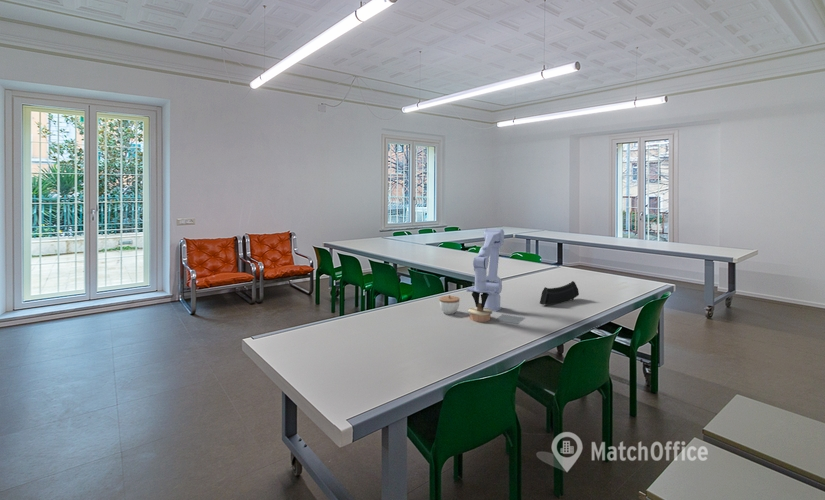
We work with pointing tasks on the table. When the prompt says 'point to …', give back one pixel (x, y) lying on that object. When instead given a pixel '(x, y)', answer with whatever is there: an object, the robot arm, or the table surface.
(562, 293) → the magazine
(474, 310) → the lid
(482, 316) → the dish
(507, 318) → the mat
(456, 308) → the lidded jar
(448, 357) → the table surface
